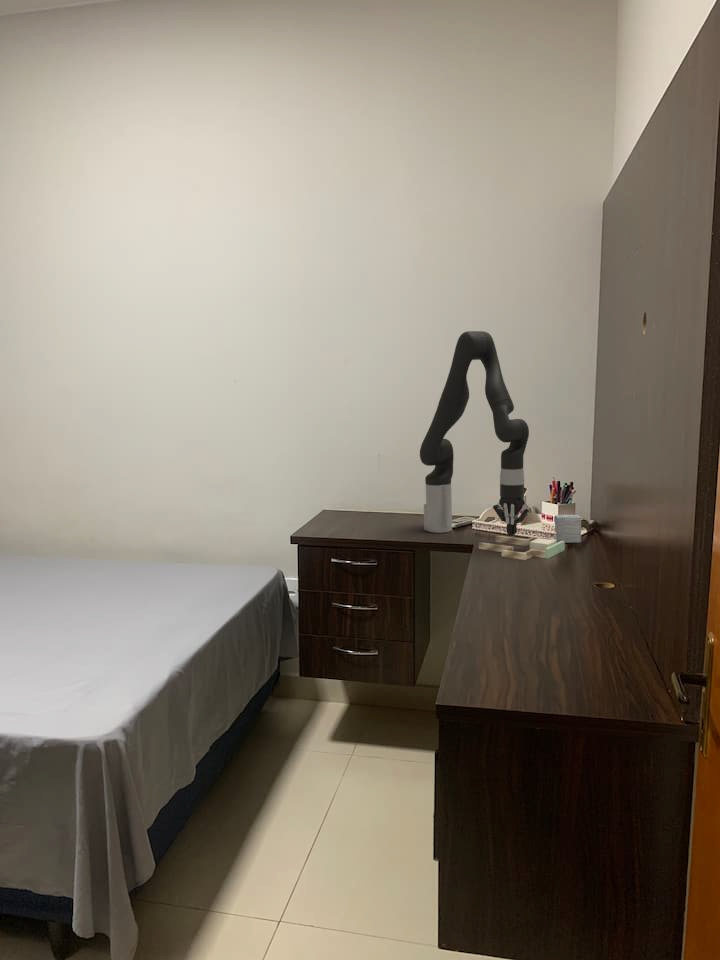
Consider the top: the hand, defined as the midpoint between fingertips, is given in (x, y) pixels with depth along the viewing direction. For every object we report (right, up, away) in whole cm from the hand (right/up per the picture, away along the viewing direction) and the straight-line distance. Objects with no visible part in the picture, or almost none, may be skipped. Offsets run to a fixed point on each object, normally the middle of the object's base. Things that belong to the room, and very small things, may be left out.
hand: (511, 535), depth 238 cm
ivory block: (+8, -5, -7) cm, 12 cm away
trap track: (+4, -5, -2) cm, 6 cm away
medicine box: (+20, -3, +7) cm, 21 cm away
